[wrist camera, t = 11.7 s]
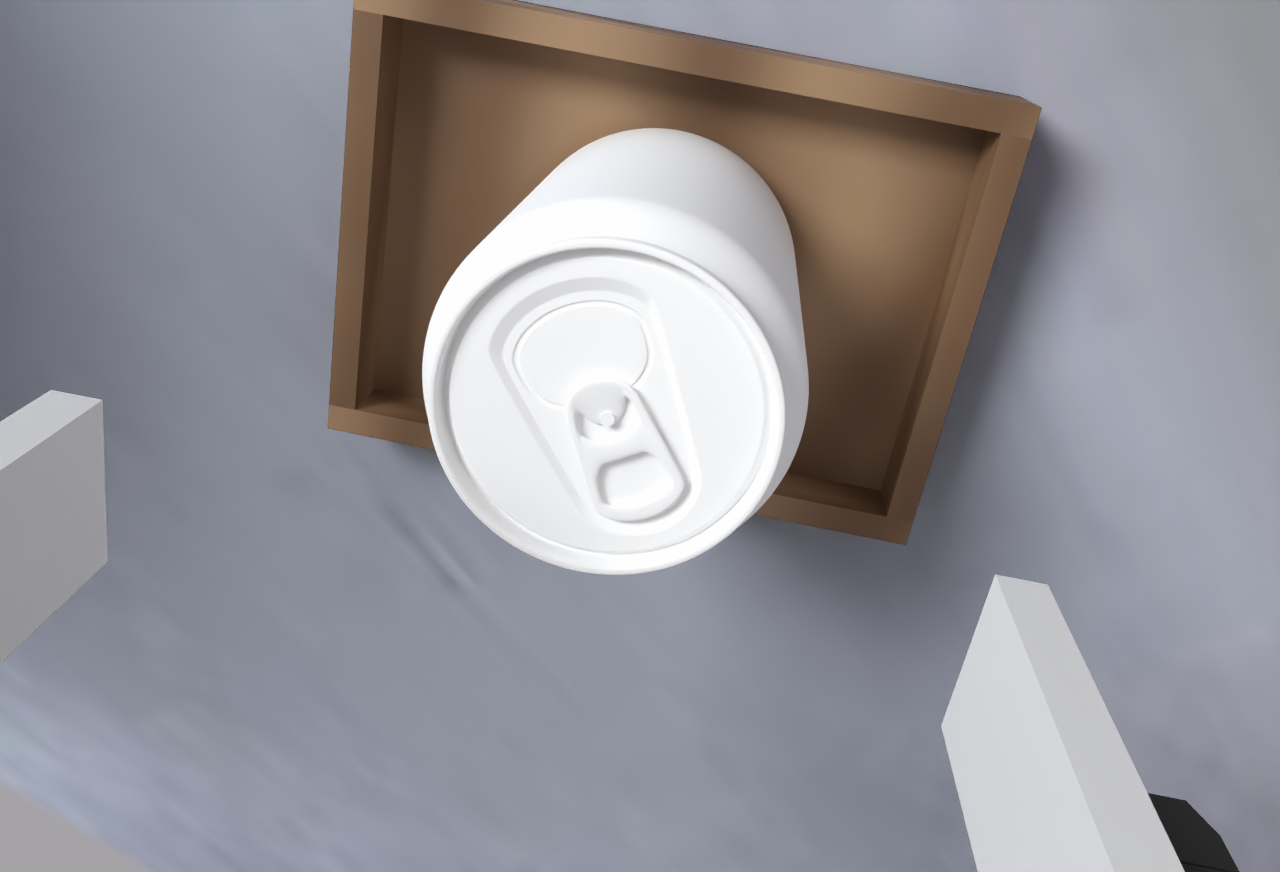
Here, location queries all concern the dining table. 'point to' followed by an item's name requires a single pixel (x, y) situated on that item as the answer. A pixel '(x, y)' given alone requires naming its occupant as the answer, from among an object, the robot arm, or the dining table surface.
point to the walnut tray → (736, 119)
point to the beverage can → (623, 357)
